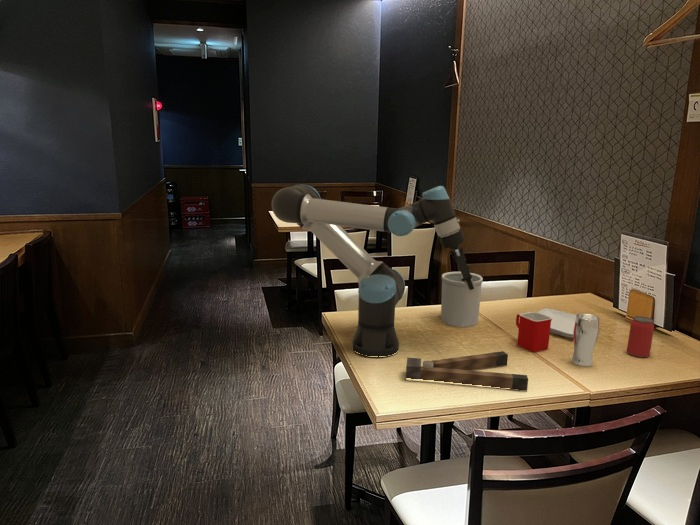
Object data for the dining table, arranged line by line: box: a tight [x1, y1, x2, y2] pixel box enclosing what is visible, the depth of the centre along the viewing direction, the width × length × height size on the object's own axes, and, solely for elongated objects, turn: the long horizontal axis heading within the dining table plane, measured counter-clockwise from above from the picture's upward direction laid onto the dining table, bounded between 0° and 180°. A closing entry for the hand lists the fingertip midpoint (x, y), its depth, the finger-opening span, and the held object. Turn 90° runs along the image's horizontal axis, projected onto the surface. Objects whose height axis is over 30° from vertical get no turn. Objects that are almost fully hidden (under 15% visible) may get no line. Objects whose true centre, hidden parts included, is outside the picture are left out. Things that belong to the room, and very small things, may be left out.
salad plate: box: [519, 307, 600, 338], centre depth 189 cm, size 21×21×3 cm
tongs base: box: [405, 357, 529, 391], centre depth 145 cm, size 33×6×5 cm, turn 81°
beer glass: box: [570, 312, 600, 368], centre depth 157 cm, size 7×7×15 cm
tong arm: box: [431, 350, 509, 371], centre depth 153 cm, size 24×2×4 cm, turn 109°
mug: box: [515, 311, 552, 353], centre depth 171 cm, size 12×8×11 cm
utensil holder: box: [440, 271, 484, 328], centre depth 192 cm, size 15×15×18 cm
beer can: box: [626, 315, 655, 358], centre depth 165 cm, size 7×7×12 cm
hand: (473, 293), depth 168 cm, fingers open, 13 cm apart
